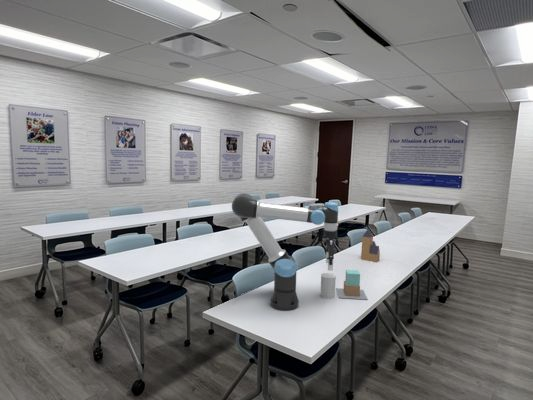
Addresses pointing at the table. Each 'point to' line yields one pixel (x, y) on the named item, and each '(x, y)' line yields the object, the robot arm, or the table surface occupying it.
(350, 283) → the teal cube
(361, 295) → the tower base
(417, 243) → the table surface
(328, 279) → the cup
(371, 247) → the toy building blocks
